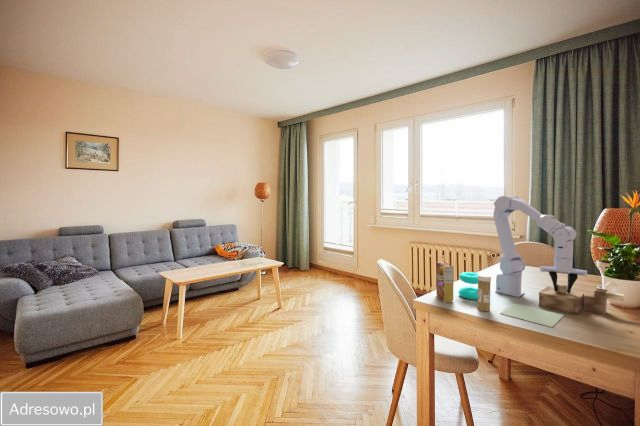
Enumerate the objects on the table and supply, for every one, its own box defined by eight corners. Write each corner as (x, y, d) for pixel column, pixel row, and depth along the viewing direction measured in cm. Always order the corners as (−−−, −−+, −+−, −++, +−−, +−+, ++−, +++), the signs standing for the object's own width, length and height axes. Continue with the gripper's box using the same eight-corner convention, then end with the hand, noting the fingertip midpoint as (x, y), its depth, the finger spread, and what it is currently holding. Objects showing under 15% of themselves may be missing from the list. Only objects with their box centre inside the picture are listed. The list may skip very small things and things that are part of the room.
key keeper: (583, 309, 121) (584, 288, 120) (585, 307, 123) (586, 286, 123) (604, 314, 116) (605, 291, 116) (606, 311, 119) (607, 289, 118)
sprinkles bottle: (490, 312, 119) (491, 277, 118) (476, 310, 121) (477, 275, 120) (490, 308, 123) (491, 274, 122) (477, 306, 125) (478, 273, 124)
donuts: (471, 278, 130) (454, 272, 139) (471, 301, 131) (453, 294, 140) (490, 275, 133) (471, 270, 143) (489, 298, 134) (470, 292, 143)
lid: (538, 295, 124) (539, 284, 124) (547, 289, 132) (547, 279, 132) (577, 303, 115) (577, 292, 115) (584, 296, 123) (584, 285, 123)
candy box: (435, 295, 138) (436, 261, 137) (445, 295, 138) (445, 261, 137) (443, 302, 129) (443, 266, 128) (453, 302, 129) (454, 266, 128)
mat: (500, 313, 117) (500, 313, 117) (515, 304, 127) (515, 303, 127) (552, 327, 105) (552, 326, 105) (564, 315, 115) (564, 314, 115)
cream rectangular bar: (593, 295, 119) (594, 290, 119) (594, 294, 120) (595, 289, 120) (623, 301, 113) (623, 295, 113) (623, 300, 114) (624, 294, 114)
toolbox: (538, 306, 125) (539, 295, 124) (547, 299, 133) (547, 289, 132) (577, 315, 116) (577, 303, 115) (584, 307, 123) (584, 296, 123)
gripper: (585, 257, 123) (583, 291, 123) (540, 254, 130) (538, 286, 131) (589, 260, 117) (587, 296, 117) (541, 256, 124) (540, 290, 125)
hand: (561, 291), depth 124 cm, fingers open, 3 cm apart
